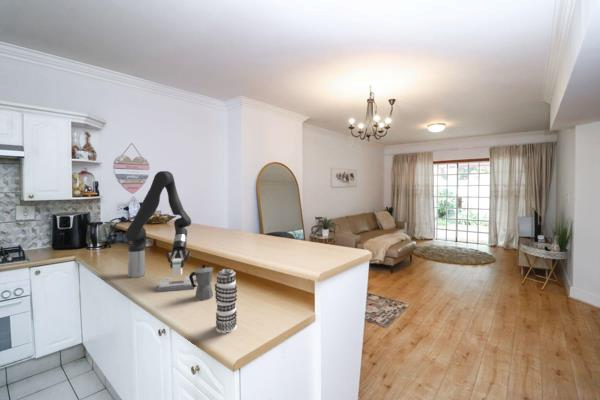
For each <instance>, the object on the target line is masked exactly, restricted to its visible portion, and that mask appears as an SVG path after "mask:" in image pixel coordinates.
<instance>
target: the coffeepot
mask: <svg viewBox="0 0 600 400" xmlns="http://www.w3.org/2000/svg"><path fill="white" fill-rule="evenodd" d="M201 266H202V267H200V268H197V269H195V270H194V271H192V272H191V273H190V275H188V276H189V278H190V281H191V284H192V286H193V287H195V288H196V290H195V299H196V300H197V301H207V300H210V299H212V298H213V297H214V293H213V287H212V284H211V282H212V279H213V273H214V269H215V267H214V266H213V267H211V266H210V267H206V264H202V265H201ZM193 276H194V277H195V280H196V281H197V282H196V285H194V281H193Z"/></svg>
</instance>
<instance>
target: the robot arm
mask: <svg viewBox="0 0 600 400" xmlns="http://www.w3.org/2000/svg"><path fill="white" fill-rule="evenodd" d="M164 188H165V190H166V192H167V198H168V204H169V207H170V210H171V212H172V215H174V216H180V217H179V218H176V219H175V220H174V222H173V225H174V230H175V234H174V238H173V244H172V250H171V252H166V259H167V262H168V263H169V266H170V268H171V269H172V270H173V266H172V260H173V259H177V258H181V259H182V261H181V268H182V269H183V267H184V266H185V262H188V261H189V258H190V256H191V254H192V253H191V251H190V250H188V251H187V243H188V237H187V236H188V230H187V227H189V226H191V224H192V220H191V217H190V216H189V215H188V213H187V212H186V211H185V209H184V206H183V205H182V202H181V200H180V197H179V194H178V191H177V187H176V183H175V179H174V175H173V173H172V172H170V171H168V170H160V171H158V172H156V174H155V175H154V177H153V180H152V182H151V185H150V188H149V190H148V191H147V193H146V195H145V197H144V199H143V201H142V202H141V204H140V206H139V208H138V211H137V212H136V215H135V216H134V218H133V220H132V221H131V223H130V225H129V226H128V227H127V229H126V231H125V239H126V240H127V241H128V242H131V244H130V245H129V246H128V263H127V275H128V276H127V277H128V278H132V279H133V278H140V277H145V275H146V252H145V250H146V249H145V247H146V245H147V232H146V229H145V227H144V226H145V224H146V223H147V222H148V221H149V220H150V219H151V218H152V217H153V216H154V214H155V213H156V210H157V209H158V207H159V205H160V201H161V200H160V199H161V195H162V192H163V190H164ZM171 255H172V257H171ZM185 255H186V256H185ZM184 256H185V257H184Z"/></svg>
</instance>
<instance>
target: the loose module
mask: <svg viewBox="0 0 600 400" xmlns="http://www.w3.org/2000/svg"><path fill="white" fill-rule="evenodd" d="M181 261H182V259H181V258H176V259H173V260H172V266H173V269H172V276H173V277H174V276H181V275H182V274H183V267H182V268H181Z"/></svg>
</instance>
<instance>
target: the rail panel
mask: <svg viewBox="0 0 600 400" xmlns="http://www.w3.org/2000/svg"><path fill="white" fill-rule="evenodd" d="M189 276H190V275H185V277H184V279H183V280H174V281H173V278H172V276H167V277H162V278H161V280H159V285H158V287H157V288H156V293H163V292H164V293H165V292H174V291H186V290H187V291H188V290H195V288H196V287H193V286H192V284H191V281H190V278H189ZM193 281H194V285H197V281H196V276H195V275H194V276H193Z"/></svg>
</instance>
